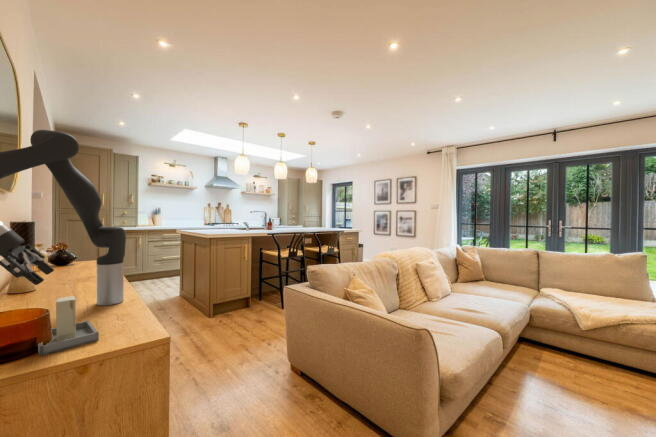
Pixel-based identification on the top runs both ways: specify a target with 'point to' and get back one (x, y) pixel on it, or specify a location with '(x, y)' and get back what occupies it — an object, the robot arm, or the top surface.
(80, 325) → the tray
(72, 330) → the skincare box
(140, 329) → the top surface
